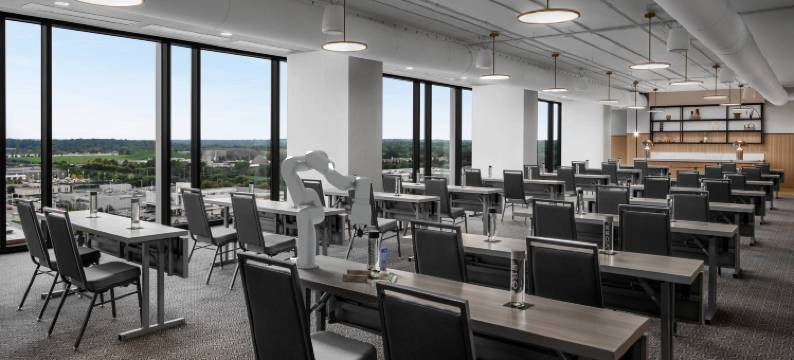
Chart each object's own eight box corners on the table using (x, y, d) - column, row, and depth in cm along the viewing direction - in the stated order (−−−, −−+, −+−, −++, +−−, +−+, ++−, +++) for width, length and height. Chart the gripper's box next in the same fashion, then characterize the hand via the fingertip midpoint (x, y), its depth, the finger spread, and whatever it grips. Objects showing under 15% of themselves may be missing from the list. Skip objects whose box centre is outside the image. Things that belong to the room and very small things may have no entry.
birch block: (378, 281, 285) (378, 273, 284) (379, 278, 290) (380, 270, 289) (388, 281, 284) (388, 273, 284) (389, 279, 289) (390, 271, 289)
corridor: (342, 280, 283) (342, 274, 283) (347, 275, 295) (347, 269, 294) (367, 282, 282) (367, 276, 281) (370, 276, 293) (370, 270, 293)
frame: (373, 282, 281) (373, 280, 281) (376, 276, 293) (376, 274, 293) (394, 283, 280) (394, 281, 280) (396, 277, 292) (396, 275, 292)
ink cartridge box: (387, 270, 307) (387, 243, 305) (380, 272, 302) (381, 245, 301) (372, 267, 312) (373, 241, 311) (366, 269, 308) (366, 242, 307)
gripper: (345, 201, 291) (344, 237, 292) (375, 203, 289) (373, 239, 290) (349, 199, 298) (347, 234, 300) (377, 201, 296) (375, 237, 298)
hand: (360, 237), depth 295 cm, fingers closed
